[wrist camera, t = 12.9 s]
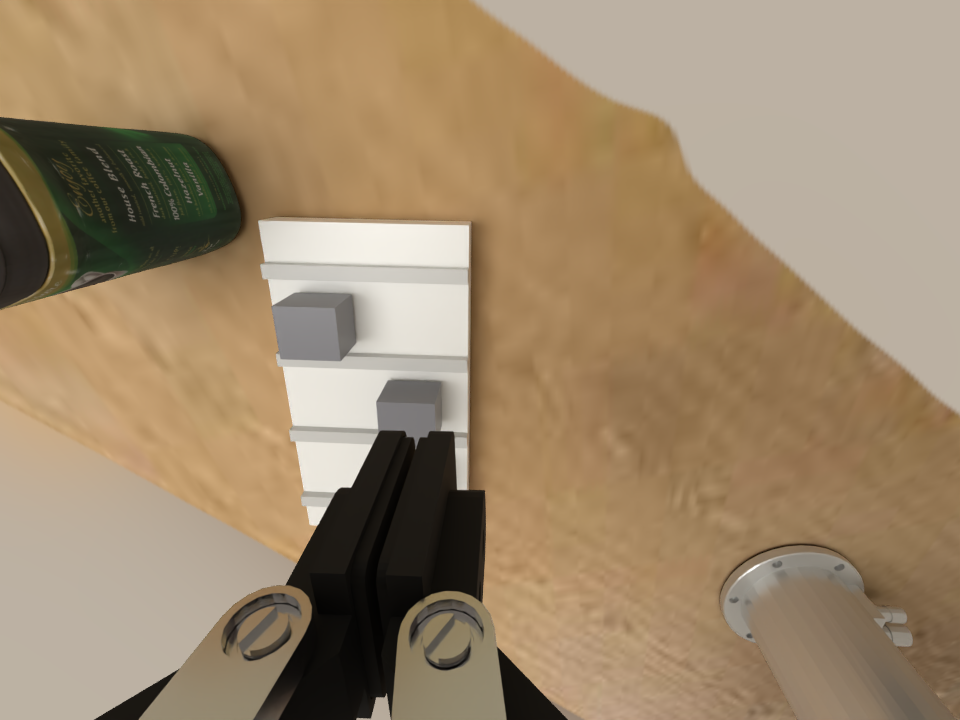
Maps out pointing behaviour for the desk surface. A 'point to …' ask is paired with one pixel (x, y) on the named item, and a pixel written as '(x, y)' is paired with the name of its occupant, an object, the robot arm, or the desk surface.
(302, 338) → the tab
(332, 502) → the robot arm
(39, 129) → the coffee jar
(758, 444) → the desk surface
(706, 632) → the desk surface
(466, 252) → the switch board
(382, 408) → the tab
